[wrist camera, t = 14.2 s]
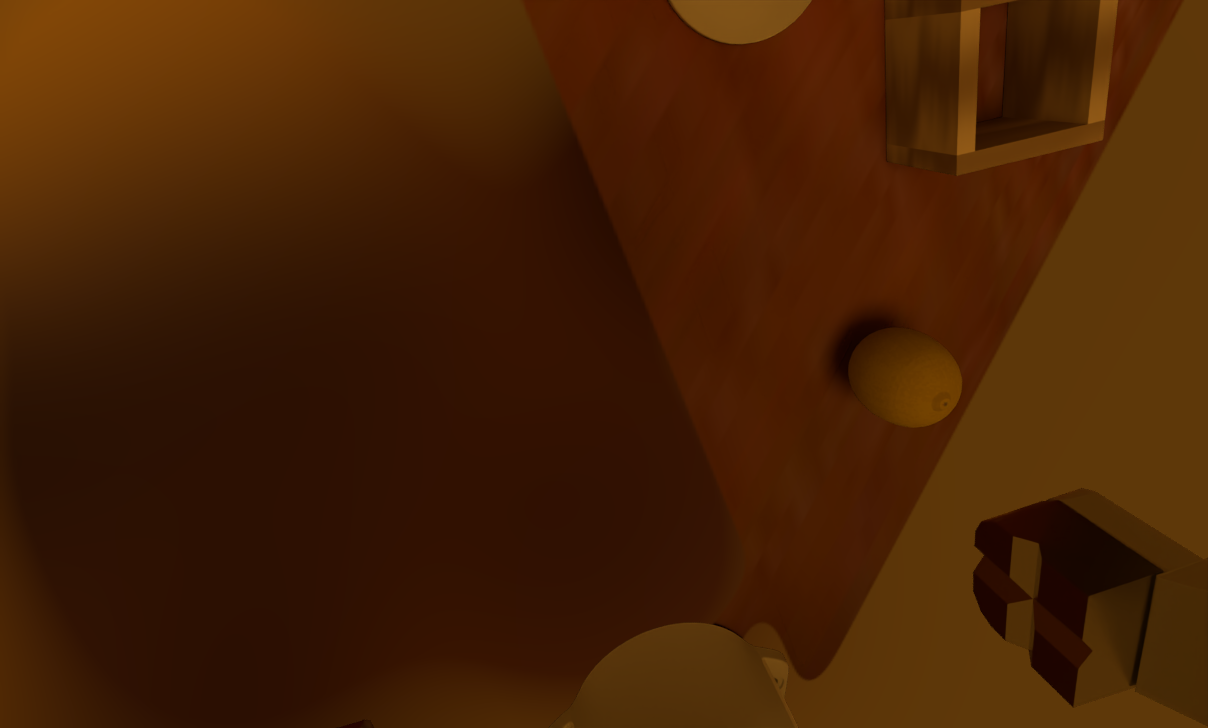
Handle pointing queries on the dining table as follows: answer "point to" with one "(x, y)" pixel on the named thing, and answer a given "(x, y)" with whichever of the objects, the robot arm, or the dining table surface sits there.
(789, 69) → the dining table surface
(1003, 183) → the dining table surface
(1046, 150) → the oak sleeve
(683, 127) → the dining table surface
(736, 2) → the coaster
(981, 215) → the dining table surface
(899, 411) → the lemon
